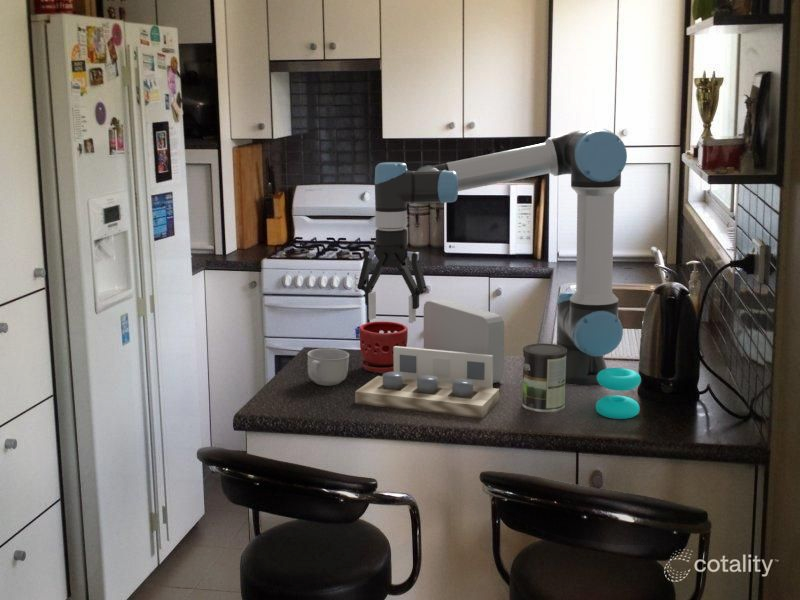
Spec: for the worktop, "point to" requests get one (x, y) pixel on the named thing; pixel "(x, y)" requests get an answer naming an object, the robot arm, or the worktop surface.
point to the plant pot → (381, 344)
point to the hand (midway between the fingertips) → (392, 320)
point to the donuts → (615, 403)
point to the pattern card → (444, 365)
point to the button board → (428, 398)
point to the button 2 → (462, 388)
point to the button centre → (427, 384)
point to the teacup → (327, 366)
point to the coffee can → (544, 377)
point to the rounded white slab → (464, 331)
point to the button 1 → (392, 380)
